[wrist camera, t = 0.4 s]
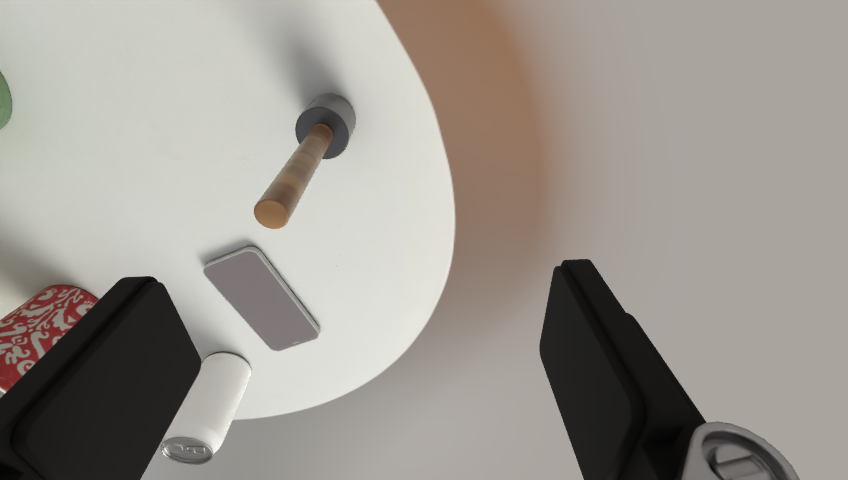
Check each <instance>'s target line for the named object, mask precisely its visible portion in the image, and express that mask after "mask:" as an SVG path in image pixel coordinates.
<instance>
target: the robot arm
mask: <svg viewBox="0 0 848 480" xmlns="http://www.w3.org/2000/svg"><path fill="white" fill-rule="evenodd" d="M540 356H541V359H542V363H543V365H544V368H545V371H546V374H547V377H548V379H549V382H550V385H551V388H552V391H553V393H554V396H555V399H556V402H557V405H558V408H559V410H560V413H561V416H562V419H563V422H564V425H565V427H566V430H567V433H568V436H569V439H570V441H571V444H572V447H573V450H574V453H575V455H576V458H577V461H578V464H579V467H580V470H581V472H582V475H583V478H584V480H800V479H799V477H798V476H797V474H796V472H795V470H794V469H793V467H792V465H791V464H790V463H789V462H788V461H787V460H786V459H785V457H784V456H783V455H782V454H781V453H780V452H779V451H778V450H777V449H776V448H774V447H773V446H772V445H771V444H769V443H768V442H767V441H766V440H765V439H763V438H761V437H760V436H758V435H756V434H754V433H752V432H751V431H749V430H747V429H744V428H741V427H739V426H736V425H733V424H730V423H723V422H710V423H706V421H705V420H704V418H703V417H702V415H701V414H700V412H699V411H698V410H697V408H696V406H695V405H694V404H693V402H692V401H691V399H690V398H689V396H688V395H687V393H686V392H685V391H684V389H683V388H682V386H681V385H680V383H679V382H678V380H677V379H676V377H675V376H674V374H673V373H672V372H671V370H670V369H669V367H668V366H667V364H666V363H665V361H664V360H663V358H662V357H661V355H660V354H659V353H658V351H657V350H656V348H655V347H654V345H653V344H652V342H651V341H650V340H649V338H648V337H647V335H646V334H645V333H644V331H643V329H642V328H641V326H640V325H639V323H638V322H637V321H636V319H635V318H634V317H633V316H632V315H630V314H628V313H626V312H625V311H624V309H623V308H622V306H621V305H620V303H619V302H618V301H617V299H616V298H615V296H614V295H613V293H612V292H611V290H610V289H609V287H608V286H607V284H606V283H605V281H604V280H603V278H602V277H601V275H600V274H599V272H598V271H597V269H596V268H595V266H594V265H593V263H592V262H591V261H590V260H588V259H579V260H564V261H563V262H562V264H561V266H557V267H555V268H554V271H553V277H552V282H551V287H550V292H549V297H548V303H547V308H546V313H545V319H544V324H543V329H542V334H541V340H540ZM200 369H201V359H200V356H199V354H198V352H197V350H196V348H195V346H194V344H193V342H192V340H191V338H190V336H189V334H188V332H187V330H186V328H185V326H184V324H183V322H182V320H181V318H180V316H179V314H178V312H177V310H176V308H175V306H174V304H173V302H172V300H171V298H170V296H169V294H168V292H167V290H166V288H165V286H164V285H163V284H162V283H161V282H158V281H157V280H156V279H155V278H154V277H150V276H145V277H126V278H122V279H121V280H119V281H118V282H117V283H116V284H115V285H114V286H113V287H112V288H111V289H110V290H109V291H108V292H107V293H106V294H105V295H104V296H103V297H102V298H101V299H100V300H99V301H98V302H97V303H96V304H95V305H94V306H93V307H92V308H91V309H90V310H89V311H88V312H87V313H86V314H85V315H84V316H83V317H82V318H81V319H80V320H79V321H78V322H77V323H76V324H75V325H74V326H73V327H72V328H71V329H69V330H68V331H67V332H66V333H65V334H64V335H63V336H62V337H61V338H60V339H59V340H58V341H57V342H56V343H55V344H54V345H53V346H52V347H51V348H50V349H49V350H48V351H47V352H46V353H45V354H44V355H43V356H42V357H41V358H40V359H39V360H38V361H37V362H36V363H35V364H34V365H33V366H32V367H31V368H30V369H29V370H28V371H27V372H26V373H25V374H24V375H23V376H22V377H21V378H20V379H19V380H18V381H17V382H16V383H15V384H14V385H13V386H12V387H11V388H10V389H9V390H8V391H7V392H6V393H5V394H4V395H3V396H2V397H1V398H0V480H140V479H141V477H142V475H143V473H144V472H145V470H146V468H147V466H148V464H149V463H150V461H151V459H152V457H153V455H154V454H155V452H156V450H157V448H158V446H159V445H160V442H161V441H162V439H163V437H164V436H165V434H166V432H167V430H168V428H169V427H170V425H171V423H172V421H173V419H174V418H175V416H176V414H177V412H178V410H179V408H180V407H181V405H182V403H183V401H184V399H185V398H186V396H187V394H188V392H189V390H190V389H191V387H192V385H193V383H194V381H195V380H196V378H197V376H198V374H199V372H200Z"/></svg>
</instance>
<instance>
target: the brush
mask: <svg viewBox="0 0 848 480" xmlns="http://www.w3.org/2000/svg"><path fill="white" fill-rule="evenodd" d="M355 124H356V117H355V112H354V110H353V108H352V106H351V105H350V104H349V103H348V101H346V100H345V99H344V98H342V97H340V96H338V95H335V94H324V95H321V96H319V97H317V98H316V99H315V100H314V101H313V102H312V103H311V104H310V105H309V106H308V107H307V108H306V110H305V111H304V112H303V113H302V114H301V115H300V116H299V118H298V120H297V123H296V127H295V131H296V137H297V140H298V142H299V144H300V145H299V147H298V148H297V149H296V151H295V152H294V154H293V155H292V156H291V158H290V159H289V160H288V162H287V163H286V164H285V166H284V167H283V168H282V170H281V171H280V173H279V174H278V175H277V177H276V178H275V179H274V181H273V182H272V183H271V185H270V186H269V188H268V189H267V190H266V192H265V193H264V194H263V196H262V197H261V198H260V200H259V201H258V202H257V204H256V205H255V208H254V214H255V217H256V219H257V221H258V222H259V223H260V224H262V225H263V226H265V227H267V228H271V229H278V228H281V227H283V226H285V225H286V224H287V222H288V220H289V218H290V217H291V215H292V213H293V211H294V209H295V207H296V206H297V204H298V202H299V200H300V198H301V196H302V194H303V193H304V191H305V189H306V187H307V185H308V183H309V181H310V180H311V178H312V176H313V174H314V172H315V170H316V169H317V167H318V165H319V163H320V161H321V159H331V158H335V157H337V156H339V155H340V154H341V153H342V152H343V151H344V150H345V149H346V147H347V145H348V142H349V140H350V138H351V135H352V133H353V130H354V128H355Z"/></svg>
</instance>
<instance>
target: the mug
mask: <svg viewBox="0 0 848 480" xmlns="http://www.w3.org/2000/svg"><path fill="white" fill-rule="evenodd" d="M97 302H98V300H97V299H96V298H95V297H94V296H92V295H91V294H89V293H88V292H86V291H84V290H82V289H79V288H76V287H72V286H68V285H54V286H50V287H48V288H46V289H44V290H43V291H41V292H40V293H38V294H37V295H35V296H34V297H32V298H31V299H30V300H28V301H27V302H26V303H24V304H23V305H21V306H20V307H18V308H17V309H16V310H14V311H13V312H11V313H9V314H8V315H7V316H5V317H4V318H3V319H1V320H0V398H1V397H2V396H3V395H4V394H5V393H6V392H7V391H8V390H9V389H10V388H11V387H12V386H13V385H14V384H15V383H16V382H17V381H18V380H19V379H20V378H21V377H22V376H23V375H24V374H25V373H26V372H27V371H28V370H29V369H30V368H31V367H32V366H33V365H34V364H35V363H36V362H37V361H38V360H39V359H40V358H41V357H42V356H43V355H44V354H45V353H46V352H47V351H48V350H49V349H50V348H51V347H52V346H53V345H54V344H55V343H56V342H57V341H58V340H59V339H60V338H61V337H62V336H63V335H64V334H65V333H66V332H67V331H68V330H69V329H71V328H72V327H73V326H74V325H75V324H76V323H77V322H78V321H79V320H80V319H81V318H82V317H83V316H84V315H85V314H86V313H87V312H88V311H89V310H90V309H91V308H92V307H93V306H94V305H95V304H96V303H97Z"/></svg>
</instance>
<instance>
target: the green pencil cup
mask: <svg viewBox="0 0 848 480" xmlns="http://www.w3.org/2000/svg"><path fill="white" fill-rule="evenodd" d="M11 111H12V100H11V95H10V91H9V88H8V86H7V83H6V81H5V79H4V77H3V76H2V74H1V72H0V129H1V128H3V127H4V126H5V125H6V123H7V122H8V120H9V118H10V115H11Z"/></svg>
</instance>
